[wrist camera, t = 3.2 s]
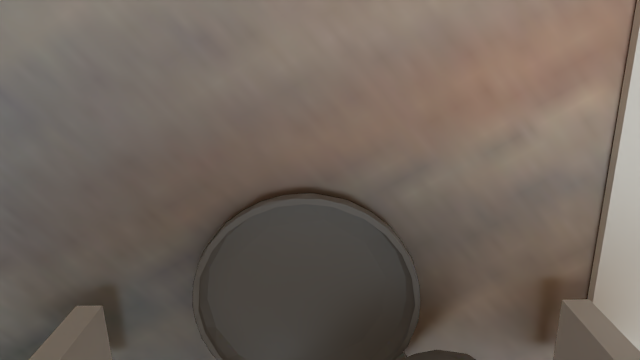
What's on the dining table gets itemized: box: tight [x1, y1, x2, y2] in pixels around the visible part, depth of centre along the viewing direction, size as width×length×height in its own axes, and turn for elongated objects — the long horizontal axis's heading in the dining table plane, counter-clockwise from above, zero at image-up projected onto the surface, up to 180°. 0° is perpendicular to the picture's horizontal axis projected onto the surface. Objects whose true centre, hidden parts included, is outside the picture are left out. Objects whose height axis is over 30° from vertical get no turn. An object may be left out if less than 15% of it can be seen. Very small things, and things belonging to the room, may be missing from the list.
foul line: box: [587, 0, 640, 351], centre depth 15 cm, size 2×22×1 cm, turn 1°
